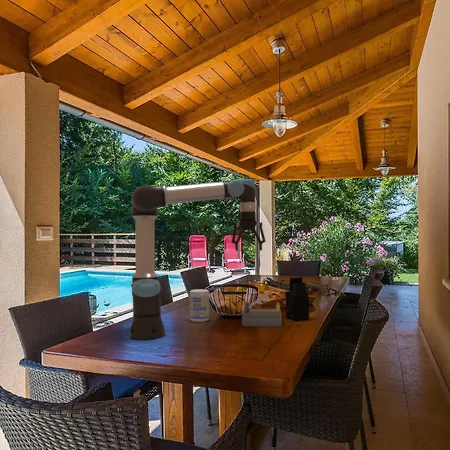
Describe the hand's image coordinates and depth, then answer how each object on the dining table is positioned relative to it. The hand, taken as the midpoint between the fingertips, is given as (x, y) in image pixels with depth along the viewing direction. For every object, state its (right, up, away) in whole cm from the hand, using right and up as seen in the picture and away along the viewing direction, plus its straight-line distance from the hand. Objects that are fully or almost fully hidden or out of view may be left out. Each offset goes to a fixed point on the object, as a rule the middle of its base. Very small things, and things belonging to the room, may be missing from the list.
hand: (248, 257), depth 205 cm
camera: (+23, -30, +3) cm, 38 cm away
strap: (+5, -20, -7) cm, 21 cm away
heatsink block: (+6, -30, -7) cm, 32 cm away
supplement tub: (-24, -31, +3) cm, 40 cm away
